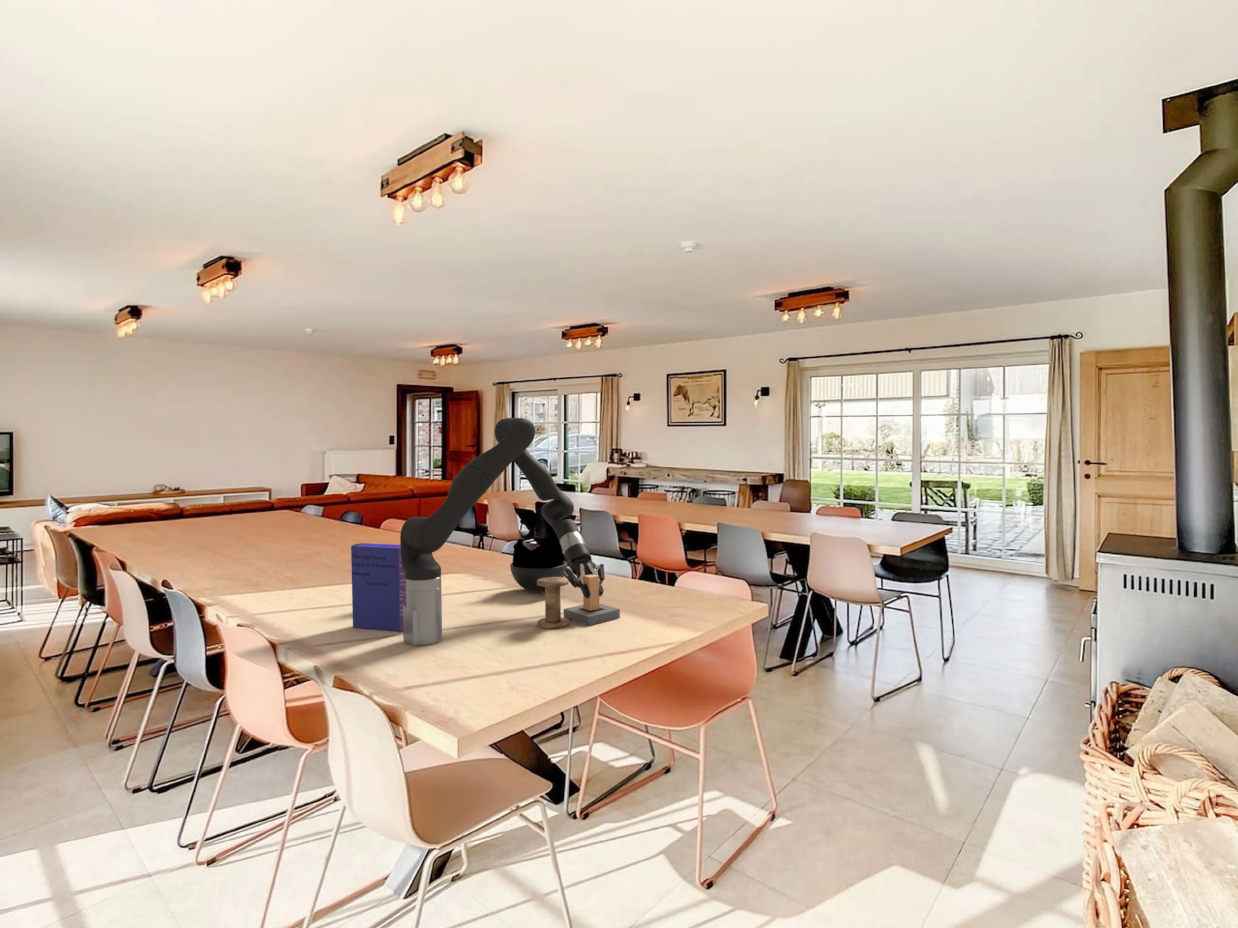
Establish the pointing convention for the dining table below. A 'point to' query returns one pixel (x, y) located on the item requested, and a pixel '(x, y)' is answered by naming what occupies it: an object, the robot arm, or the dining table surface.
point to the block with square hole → (591, 614)
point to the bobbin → (552, 603)
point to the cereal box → (378, 587)
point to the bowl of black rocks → (537, 564)
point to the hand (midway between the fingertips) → (595, 595)
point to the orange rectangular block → (592, 592)
